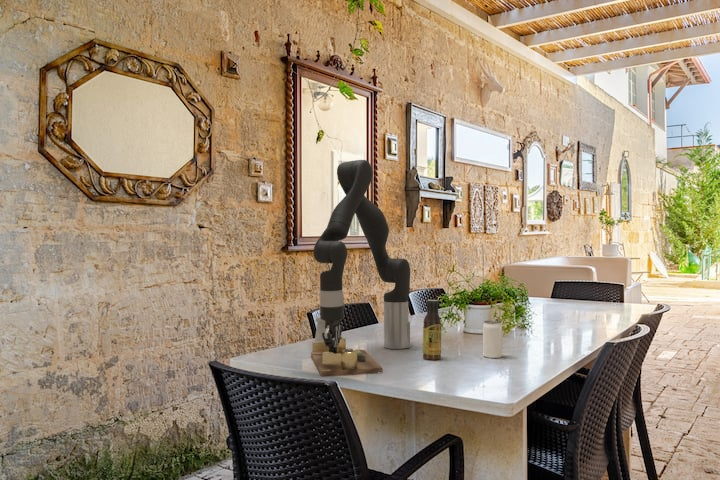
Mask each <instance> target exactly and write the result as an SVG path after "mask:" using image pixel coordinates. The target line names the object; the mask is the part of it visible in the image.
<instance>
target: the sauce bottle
mask: <svg viewBox="0 0 720 480" xmlns="http://www.w3.org/2000/svg"><path fill="white" fill-rule="evenodd" d="M439 304H440V301H439V299H427V300H426V305H427V306H426V315H425V316H424V318H423V326H422V327H423V329H422V358H423V359H424V360H433V361H435V360H440V359H441V357H442V330H443V329H442V327H443V326H442V322H441V318H440V314H439Z"/></svg>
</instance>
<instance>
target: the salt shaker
mask: <svg viewBox="0 0 720 480" xmlns="http://www.w3.org/2000/svg"><path fill="white" fill-rule="evenodd" d="M315 322H316V323H317V325H316V331H315V337H314V342H321V341H322V342H324V339H323V337H322V333H325V323H326V322H325V320H321V318H320V314H319V315H317V316H316V317H315Z"/></svg>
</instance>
